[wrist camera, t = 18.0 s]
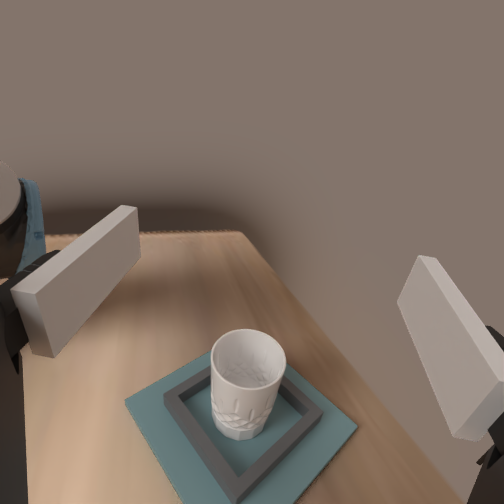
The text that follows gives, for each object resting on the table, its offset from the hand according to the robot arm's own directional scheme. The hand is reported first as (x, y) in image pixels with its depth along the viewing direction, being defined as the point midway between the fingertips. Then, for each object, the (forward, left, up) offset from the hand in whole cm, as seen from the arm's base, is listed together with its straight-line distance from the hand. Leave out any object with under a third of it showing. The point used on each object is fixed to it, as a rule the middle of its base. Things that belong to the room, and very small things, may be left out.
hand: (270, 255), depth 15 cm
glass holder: (-6, +7, -29) cm, 31 cm away
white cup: (-7, +7, -28) cm, 30 cm away
